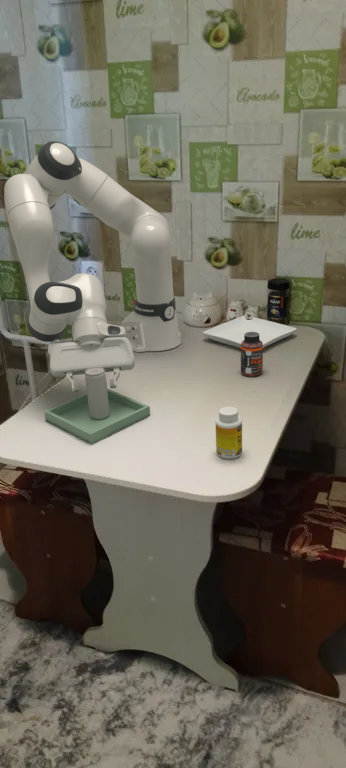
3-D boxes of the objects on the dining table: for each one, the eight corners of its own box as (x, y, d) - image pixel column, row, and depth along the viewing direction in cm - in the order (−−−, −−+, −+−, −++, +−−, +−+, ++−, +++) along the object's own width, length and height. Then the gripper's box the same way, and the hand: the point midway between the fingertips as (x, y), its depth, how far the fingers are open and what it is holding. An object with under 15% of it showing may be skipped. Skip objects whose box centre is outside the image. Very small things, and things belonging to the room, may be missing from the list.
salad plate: (298, 337, 200) (298, 326, 198) (255, 358, 187) (255, 347, 185) (244, 323, 214) (244, 314, 212) (201, 342, 201) (200, 332, 199)
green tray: (45, 420, 157) (44, 411, 156) (103, 395, 168) (102, 386, 167) (91, 444, 145) (90, 434, 144) (150, 415, 156) (149, 406, 155)
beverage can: (105, 421, 154) (100, 375, 149) (87, 419, 155) (81, 374, 150) (112, 412, 158) (108, 367, 153) (94, 410, 159) (89, 366, 154)
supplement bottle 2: (252, 379, 172) (252, 339, 168) (236, 373, 177) (235, 334, 172) (267, 372, 176) (267, 333, 171) (251, 366, 180) (250, 328, 175)
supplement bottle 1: (241, 460, 136) (240, 417, 131) (215, 459, 137) (213, 416, 132) (243, 447, 141) (242, 404, 136) (217, 446, 142) (216, 404, 137)
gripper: (45, 334, 154) (48, 388, 149) (131, 327, 155) (136, 380, 151) (49, 345, 160) (52, 397, 155) (131, 338, 161) (137, 389, 157)
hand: (94, 389), depth 153 cm, fingers open, 8 cm apart
